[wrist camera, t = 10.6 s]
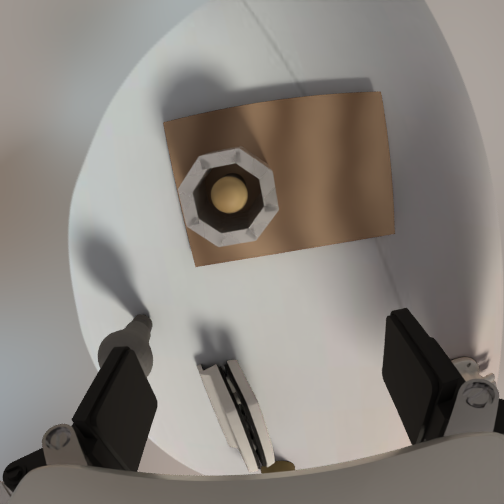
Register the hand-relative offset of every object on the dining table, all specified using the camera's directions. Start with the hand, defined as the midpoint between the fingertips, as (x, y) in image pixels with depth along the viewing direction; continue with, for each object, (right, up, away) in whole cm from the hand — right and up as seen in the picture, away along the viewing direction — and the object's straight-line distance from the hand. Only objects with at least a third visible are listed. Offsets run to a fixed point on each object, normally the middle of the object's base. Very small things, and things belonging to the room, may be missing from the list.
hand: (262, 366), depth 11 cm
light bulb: (-13, -4, +24) cm, 27 cm away
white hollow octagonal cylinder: (-2, +10, +17) cm, 20 cm away
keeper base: (+3, +11, +18) cm, 22 cm away
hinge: (-2, -16, +29) cm, 33 cm away
